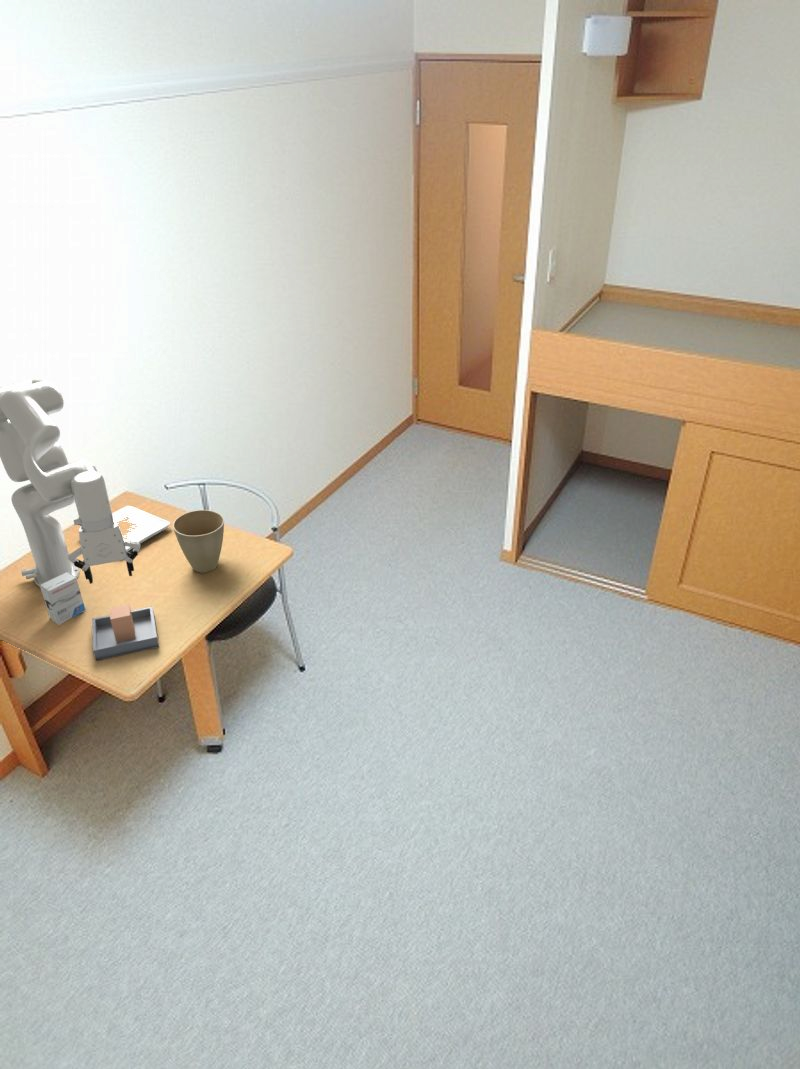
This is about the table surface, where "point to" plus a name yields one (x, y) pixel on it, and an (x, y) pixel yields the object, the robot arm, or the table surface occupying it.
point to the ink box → (62, 597)
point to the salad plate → (140, 524)
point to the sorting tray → (144, 640)
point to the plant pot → (200, 538)
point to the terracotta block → (122, 623)
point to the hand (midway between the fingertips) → (111, 576)
